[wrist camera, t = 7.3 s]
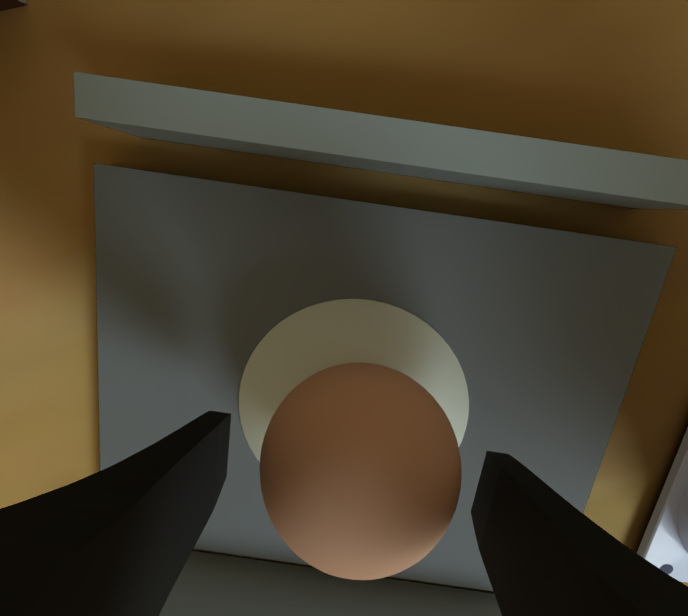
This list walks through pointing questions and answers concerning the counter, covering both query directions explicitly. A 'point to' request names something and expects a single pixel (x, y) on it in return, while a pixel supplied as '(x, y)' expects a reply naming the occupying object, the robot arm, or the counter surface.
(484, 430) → the mat
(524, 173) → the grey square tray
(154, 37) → the counter surface
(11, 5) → the food container
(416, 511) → the ball
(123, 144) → the counter surface
